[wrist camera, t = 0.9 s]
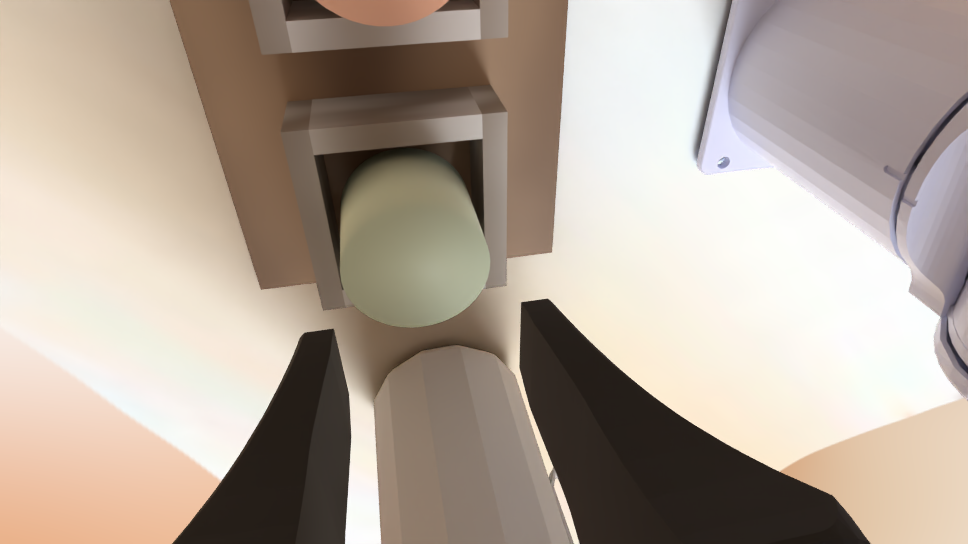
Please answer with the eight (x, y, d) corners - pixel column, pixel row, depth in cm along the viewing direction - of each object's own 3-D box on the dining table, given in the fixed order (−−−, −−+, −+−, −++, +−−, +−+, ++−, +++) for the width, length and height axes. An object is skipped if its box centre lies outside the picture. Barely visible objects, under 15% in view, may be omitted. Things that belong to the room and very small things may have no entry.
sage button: (466, 141, 19) (489, 196, 16) (470, 252, 22) (491, 316, 19) (330, 155, 18) (327, 214, 15) (351, 266, 21) (352, 336, 18)
